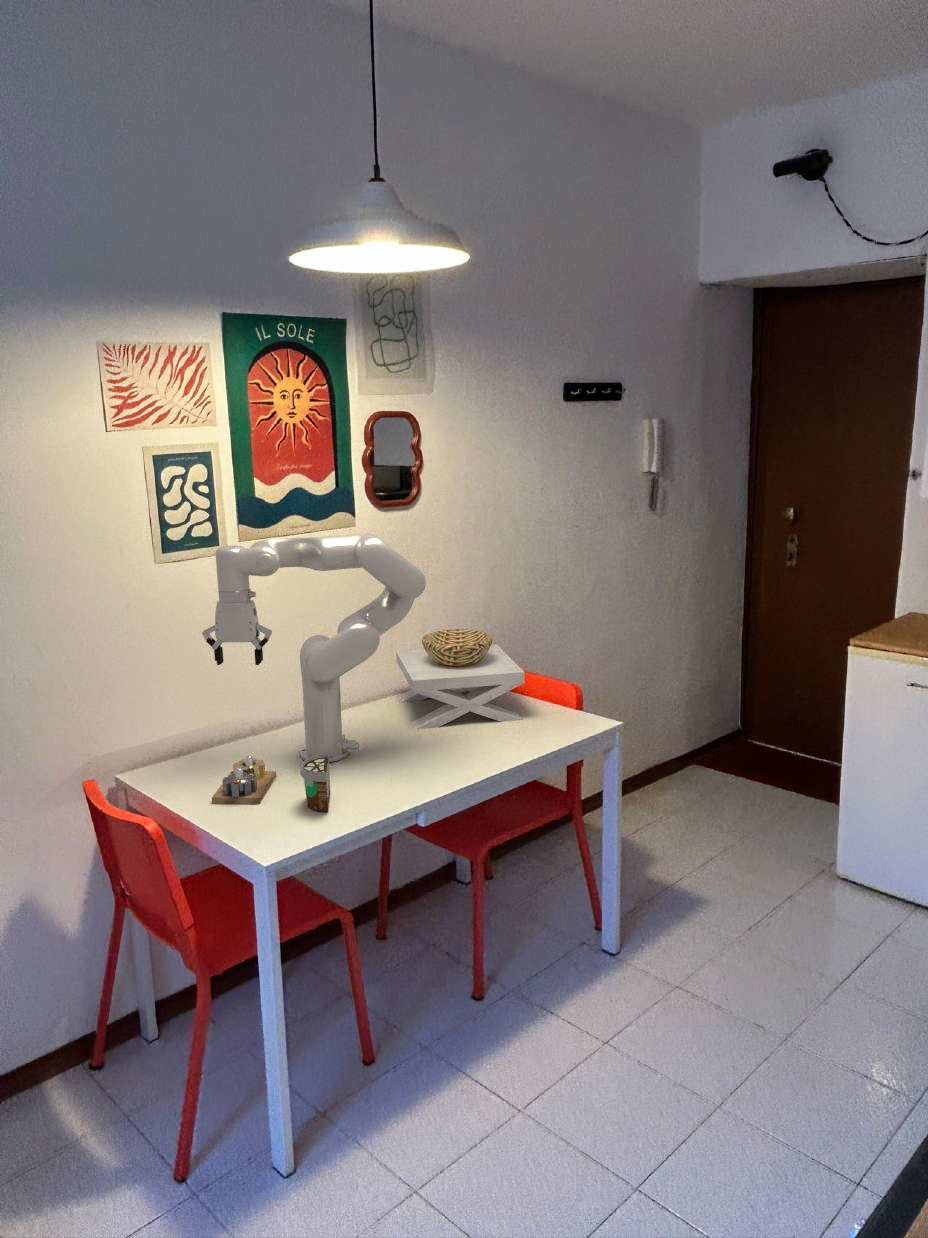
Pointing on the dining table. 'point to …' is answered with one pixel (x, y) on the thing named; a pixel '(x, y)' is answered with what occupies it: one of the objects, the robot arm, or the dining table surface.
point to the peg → (249, 760)
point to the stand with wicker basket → (459, 676)
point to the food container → (317, 782)
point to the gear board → (255, 798)
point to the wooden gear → (252, 767)
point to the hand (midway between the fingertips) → (239, 663)
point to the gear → (239, 783)
